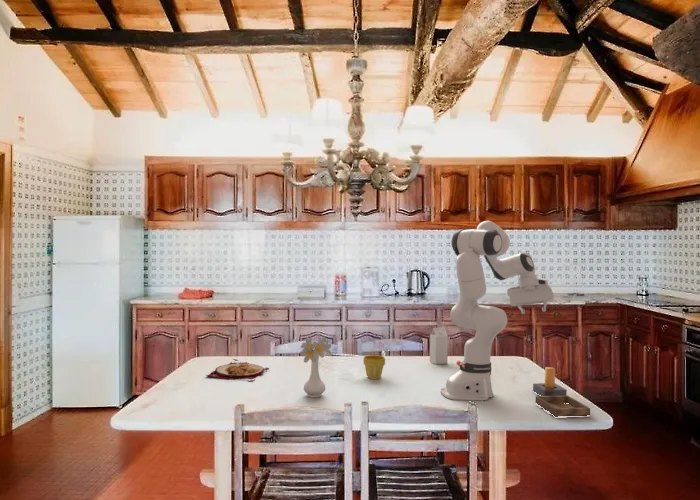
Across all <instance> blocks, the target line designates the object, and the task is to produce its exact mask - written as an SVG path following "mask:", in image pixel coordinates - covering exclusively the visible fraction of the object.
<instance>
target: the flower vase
mask: <svg viewBox="0 0 700 500" xmlns="http://www.w3.org/2000/svg"><path fill="white" fill-rule="evenodd" d="M312 339H313V337H312V336H311V337H310V338H309V336H306V337H305V342H302V344H301V345H300V348H302V350H301V351H299V354H300V355H301V356H303V357H304V358H303V363H308V362H309V360H310V362H311V365H310V366H311V368H310V369H311V370H310V376H309V378H308V380H307V381H306V382H304V385H303V390H304V392H305V394H306V395H307V397H308V398H311V399H317V398H321V397H322V395H323V394H324V392H325V391H326V390H327V389H326V388H327V387H326V384H325V383H324V381H322V378H321V376H320V373H319V369H320V367H319V359H320V358H321V359H322V358H324V355H325V354H324V353H326V354H327V356H332V352H331V350H330V349H331V348H332V344H331V343H329V338H326V337H325V336H324V337H321V336H320V334H318V335H317V339H318V340H317V341H315V340H312Z"/></svg>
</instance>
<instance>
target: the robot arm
mask: <svg viewBox="0 0 700 500" xmlns="http://www.w3.org/2000/svg"><path fill="white" fill-rule="evenodd" d="M503 229H504V228H502V227H501V226H499V225H498V224H497V223H495V222H493V221H490V220H484V221H482V222H480V223H478V225H477V226H476V228H475V229H474V228H472V229H471V228H470V229H459V230H457V231H455V232H454V233H453V234H452V237H451V240H450V245H451V249H452V250H453V252H454V254H455V255H456V266H455V267H456V276H457V283H458V289H459V298H458V301H457V302H456V303H455V305H454V306H452V307H451V310H450V312H449V313H450V314H449V316H450V320H451V321H450V322H452V324H453V325H455V326H457V327H460V328H462V329H467V330H474V331H475V335H474V337H471V338H469V339H467V341H466V342H465V344H464V349H463V350H464V354H463V357H464V358H463V359H464V360H463V361H462V362H461V361H460V360H457V361H456V365H457V366H459V369H458V370H457V371H456V372H454V373H453V374H451V375H450V376H449V377H448V378H447V379H446V382H445V387H441V388H440V394H441V396H443V397H445V398H447V399H449V400H458V401H459V400H460V401H483V400H485V401H487V400H489V399H490V398H489V397H491V398H493V397H494V392H493V388H492V381H491V380H492V379H491V375H492V362H491V356H492V355H491V353H492V346H493V342H494V340H495V338H496V336H498V334H499V333H501V332H503V330H505V328H506V327H507V325H508V316H507V313H506V312H505V310H504V309H502V308H499V307H496V306H492V305H483V304H479V302H478V300H480V299H481V298H483V297H484V296H485V295H486V293H487V285H486V284H487V283H486V277H485V273H484V268H483V265H482V261H481V259H480V258H481V256H483V257H484V259H485V261H486V263H487V264H488V266H489V268H490V270H491V272H492V274H493V276H494V278H495V279H497V280H498V281H505V280H507V279H510V278H512V277H516V276H517V282H518V286H510V287H509V288H507V290H506V292H507V296H508V297H509V305H510V306H511V307H515V306H517V308H518V309H519V310H520V311H521V312H520V313H521V315H524V314H526V310H525V308H523V307H522V306H527V305H534V304H535V305H536V304H543V305H544V306H542V307H541V310H542V312H543V313H544V312H546V311H547V305H548V303H552V302H554V299H555V296H554V293H553V290H552V288H551V286H550V285H549V281H548V280H545V279H540V278H538V277H537V275H536V268H535V263H534V261H533V258H532V256H531V254H530V253H528V252H519V253H518V254H513V255H511V256H507V257H504V258H500V259H498V257H500V256H503V255H504V254H506V252H507V251H508V250H509V247H510V244H511V243H510V242H511V239H510V237H509V235H508V234H507V232H506V231H505V230H503ZM492 396H493V397H492ZM486 399H487V400H486Z"/></svg>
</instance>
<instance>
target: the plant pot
mask: <svg viewBox="0 0 700 500" xmlns="http://www.w3.org/2000/svg"><path fill="white" fill-rule="evenodd" d="M363 365H364V366H365V372H366V373H365V374H366V377H367V376H368V377H369V378H368V377H367V378H368V379H372V380H378V379H381V377H382V373H383V370H384V366H385V365H386V357H385V356H383V355H379V354H378V355H376V354H368V355H367V354H366V355H364V356H363Z"/></svg>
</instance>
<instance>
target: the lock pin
mask: <svg viewBox="0 0 700 500" xmlns="http://www.w3.org/2000/svg"><path fill="white" fill-rule="evenodd" d="M555 382H556V368H555V367H549V366H546V367H544V383H545V388H555V384H556V383H555Z"/></svg>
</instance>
